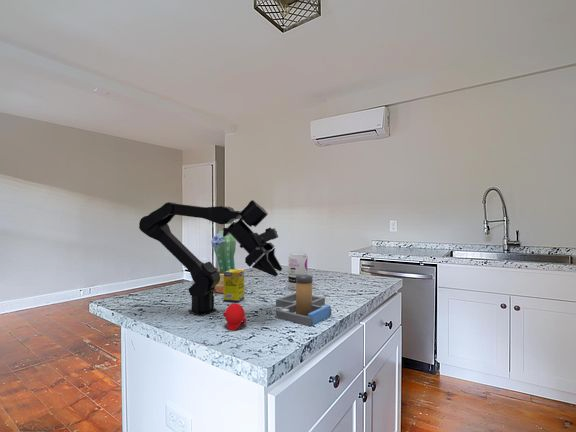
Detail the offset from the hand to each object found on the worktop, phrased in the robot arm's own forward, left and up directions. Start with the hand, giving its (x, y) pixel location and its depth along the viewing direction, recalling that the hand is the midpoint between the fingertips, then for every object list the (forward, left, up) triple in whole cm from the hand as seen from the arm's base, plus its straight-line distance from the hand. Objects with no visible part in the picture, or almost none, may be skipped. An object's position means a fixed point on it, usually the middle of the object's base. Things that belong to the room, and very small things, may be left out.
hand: (279, 272), depth 99 cm
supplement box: (+4, +24, -14) cm, 28 cm away
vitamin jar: (+4, -7, -13) cm, 16 cm away
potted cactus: (+13, +38, -14) cm, 42 cm away
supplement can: (+34, +16, -14) cm, 40 cm away
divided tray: (+9, -3, -13) cm, 16 cm away
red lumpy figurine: (-15, +4, -14) cm, 21 cm away
